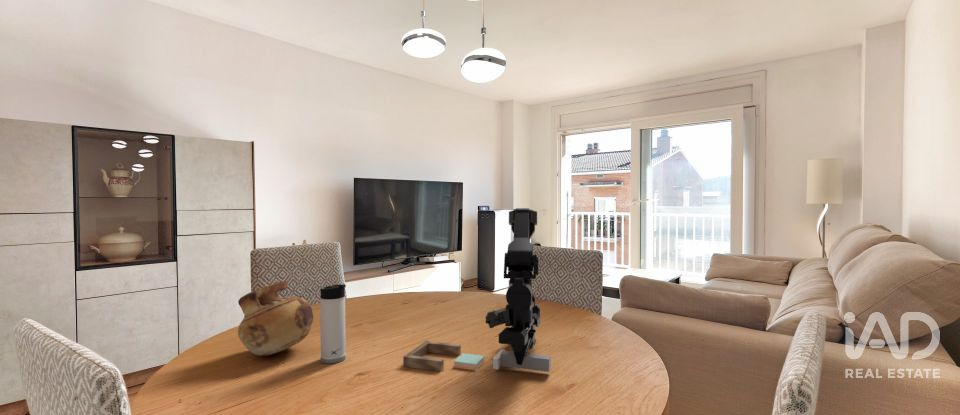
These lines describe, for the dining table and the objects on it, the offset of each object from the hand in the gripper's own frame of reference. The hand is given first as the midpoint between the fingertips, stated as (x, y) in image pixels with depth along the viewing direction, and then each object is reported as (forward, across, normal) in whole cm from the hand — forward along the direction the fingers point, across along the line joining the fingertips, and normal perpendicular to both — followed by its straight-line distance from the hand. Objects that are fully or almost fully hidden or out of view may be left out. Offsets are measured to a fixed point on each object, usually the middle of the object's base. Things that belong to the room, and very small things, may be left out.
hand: (520, 362), depth 105 cm
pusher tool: (+1, 0, +1) cm, 1 cm away
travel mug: (+2, +8, -49) cm, 50 cm away
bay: (+2, 0, -24) cm, 24 cm away
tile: (+3, 0, -14) cm, 14 cm away
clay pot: (+2, +9, -67) cm, 68 cm away
